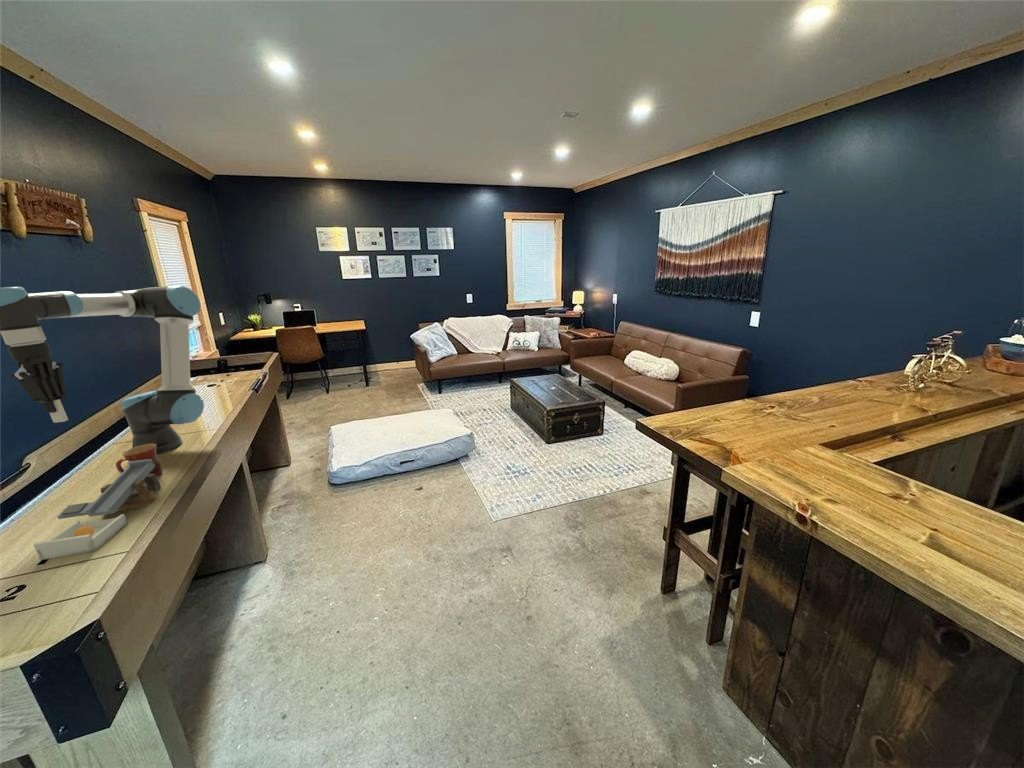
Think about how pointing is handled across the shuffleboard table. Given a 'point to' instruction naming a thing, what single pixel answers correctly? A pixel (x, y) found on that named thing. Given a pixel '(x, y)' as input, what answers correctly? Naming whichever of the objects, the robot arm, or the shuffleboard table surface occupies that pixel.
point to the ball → (84, 531)
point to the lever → (112, 492)
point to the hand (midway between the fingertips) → (61, 421)
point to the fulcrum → (140, 493)
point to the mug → (141, 457)
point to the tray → (80, 538)
